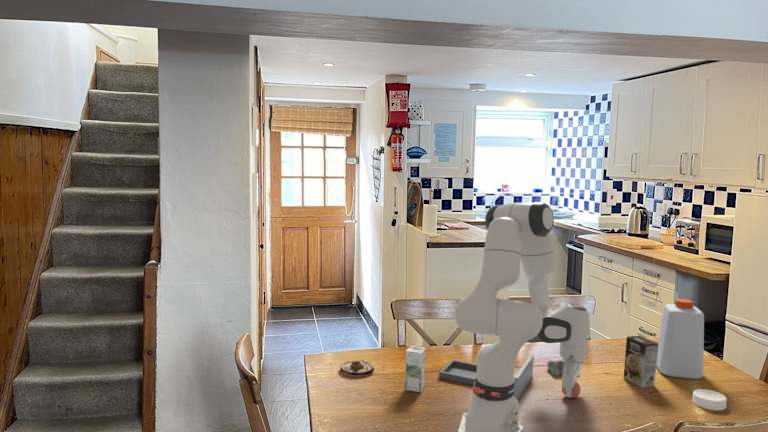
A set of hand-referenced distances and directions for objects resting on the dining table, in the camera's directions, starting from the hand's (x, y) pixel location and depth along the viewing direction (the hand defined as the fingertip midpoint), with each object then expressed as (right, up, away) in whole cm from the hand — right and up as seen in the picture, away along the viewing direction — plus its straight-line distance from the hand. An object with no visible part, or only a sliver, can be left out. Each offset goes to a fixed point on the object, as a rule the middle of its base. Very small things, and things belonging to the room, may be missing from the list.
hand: (570, 390), depth 195 cm
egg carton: (+4, 0, +23) cm, 23 cm away
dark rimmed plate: (-73, +1, +19) cm, 76 cm away
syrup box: (-53, -1, +4) cm, 53 cm away
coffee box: (+30, -2, +15) cm, 33 cm away
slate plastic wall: (-14, -1, +7) cm, 16 cm away
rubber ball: (0, +1, 0) cm, 1 cm away
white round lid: (+46, -4, -2) cm, 46 cm away
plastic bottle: (+50, -1, +26) cm, 56 cm away
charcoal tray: (-34, 0, +17) cm, 38 cm away
